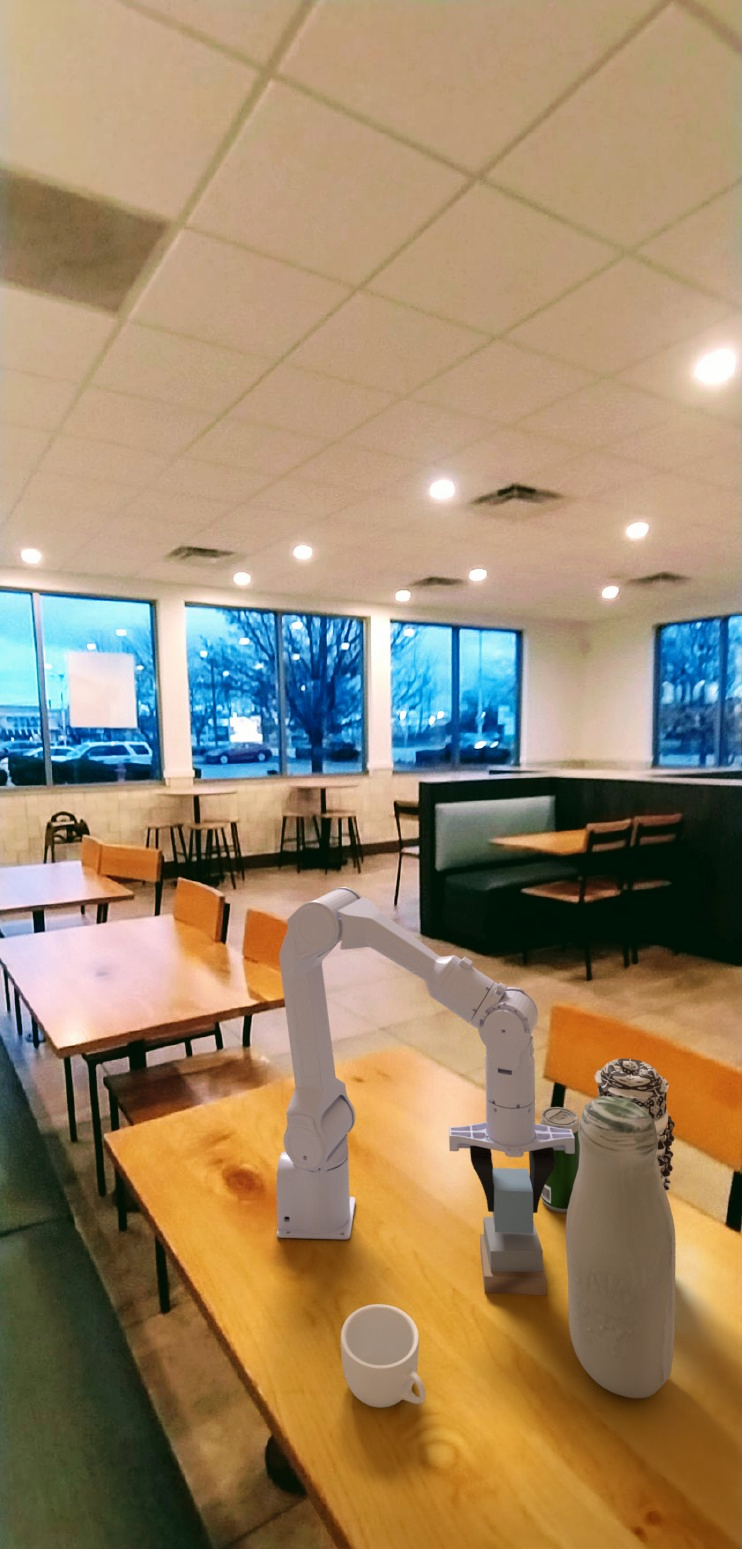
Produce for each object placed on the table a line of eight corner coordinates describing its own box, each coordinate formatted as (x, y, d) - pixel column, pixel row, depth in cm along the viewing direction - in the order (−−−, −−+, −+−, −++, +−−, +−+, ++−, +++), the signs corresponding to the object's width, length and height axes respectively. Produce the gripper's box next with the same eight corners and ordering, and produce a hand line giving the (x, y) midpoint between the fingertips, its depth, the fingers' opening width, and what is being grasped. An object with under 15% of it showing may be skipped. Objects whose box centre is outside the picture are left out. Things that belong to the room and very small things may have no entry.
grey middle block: (490, 1272, 85) (490, 1251, 85) (483, 1236, 91) (483, 1216, 91) (542, 1271, 85) (542, 1250, 84) (532, 1235, 91) (532, 1216, 90)
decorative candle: (676, 1312, 81) (676, 1092, 79) (588, 1292, 84) (587, 1080, 82) (672, 1256, 89) (673, 1056, 88) (593, 1239, 92) (592, 1046, 91)
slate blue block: (495, 1232, 85) (494, 1190, 85) (491, 1207, 90) (491, 1168, 89) (533, 1233, 85) (533, 1191, 84) (528, 1208, 89) (527, 1168, 89)
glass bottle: (682, 1360, 75) (683, 1093, 73) (662, 1443, 66) (662, 1144, 64) (585, 1319, 80) (583, 1071, 78) (554, 1392, 71) (552, 1114, 70)
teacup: (326, 1383, 73) (324, 1332, 73) (383, 1339, 78) (381, 1291, 78) (394, 1456, 66) (393, 1400, 65) (452, 1403, 71) (451, 1350, 70)
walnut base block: (484, 1296, 84) (484, 1276, 84) (480, 1253, 91) (480, 1234, 91) (546, 1299, 84) (546, 1278, 84) (537, 1255, 91) (537, 1236, 91)
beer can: (561, 1219, 96) (561, 1131, 96) (531, 1198, 101) (531, 1114, 100) (589, 1204, 99) (589, 1118, 98) (559, 1184, 104) (558, 1102, 103)
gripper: (449, 1113, 83) (451, 1228, 84) (579, 1115, 82) (580, 1231, 83) (447, 1082, 90) (449, 1189, 91) (567, 1084, 89) (568, 1192, 90)
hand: (511, 1206), depth 87 cm, fingers closed on slate blue block, 4 cm apart
